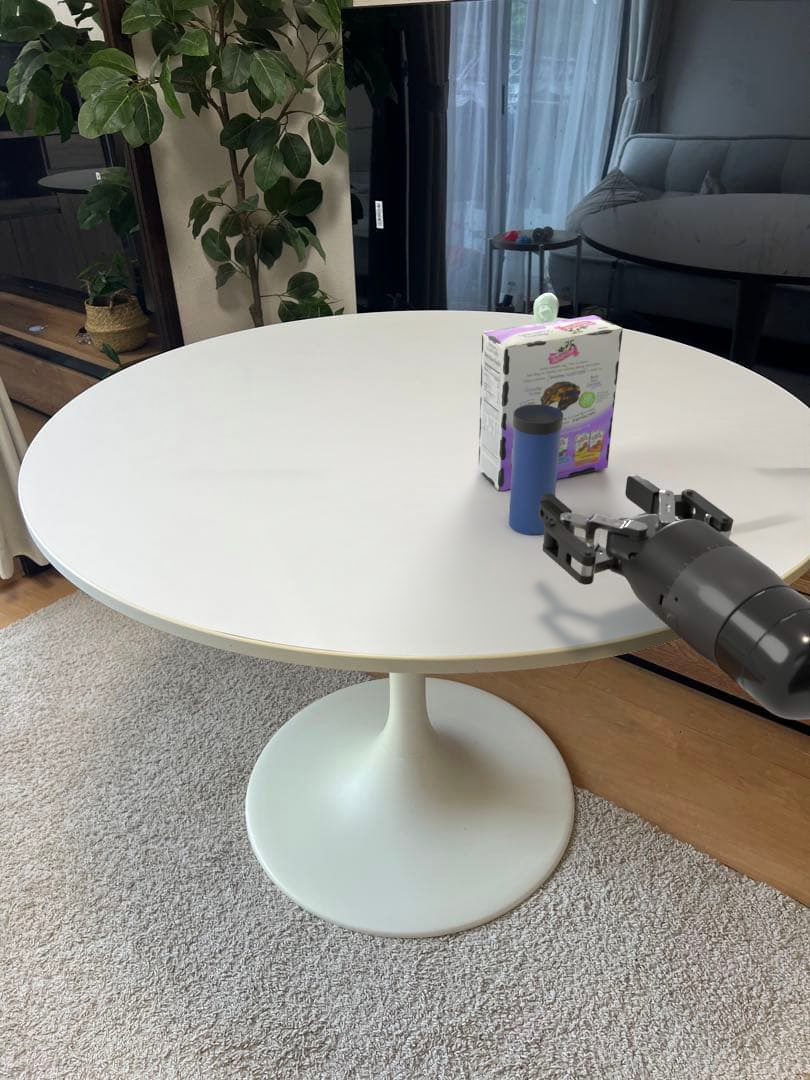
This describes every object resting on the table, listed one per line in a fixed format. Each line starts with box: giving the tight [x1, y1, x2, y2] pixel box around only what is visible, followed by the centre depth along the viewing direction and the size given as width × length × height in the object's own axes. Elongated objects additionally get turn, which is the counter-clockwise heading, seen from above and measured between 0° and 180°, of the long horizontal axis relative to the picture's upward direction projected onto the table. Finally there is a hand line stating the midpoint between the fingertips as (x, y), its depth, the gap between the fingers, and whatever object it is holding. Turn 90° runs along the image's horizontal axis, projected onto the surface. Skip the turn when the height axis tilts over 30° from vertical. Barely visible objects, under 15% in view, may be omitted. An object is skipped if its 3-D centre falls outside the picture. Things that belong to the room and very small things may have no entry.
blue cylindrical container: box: [508, 405, 563, 536], centre depth 77 cm, size 5×5×12 cm
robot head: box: [533, 292, 560, 324], centre depth 132 cm, size 8×4×7 cm, turn 178°
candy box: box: [477, 314, 624, 492], centre depth 86 cm, size 14×6×16 cm, turn 110°
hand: (587, 493), depth 69 cm, fingers open, 8 cm apart
